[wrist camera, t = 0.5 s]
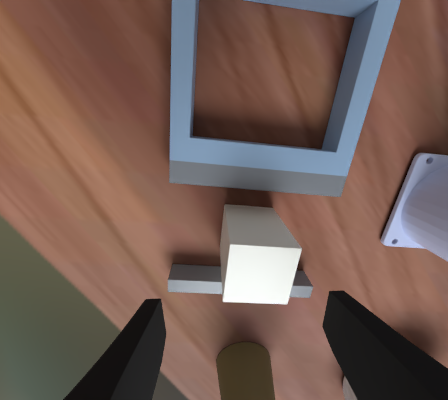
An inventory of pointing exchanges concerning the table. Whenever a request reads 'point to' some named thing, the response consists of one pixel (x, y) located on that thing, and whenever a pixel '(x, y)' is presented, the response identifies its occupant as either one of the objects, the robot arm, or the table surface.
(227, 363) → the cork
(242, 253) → the cream white block
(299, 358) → the table surface
